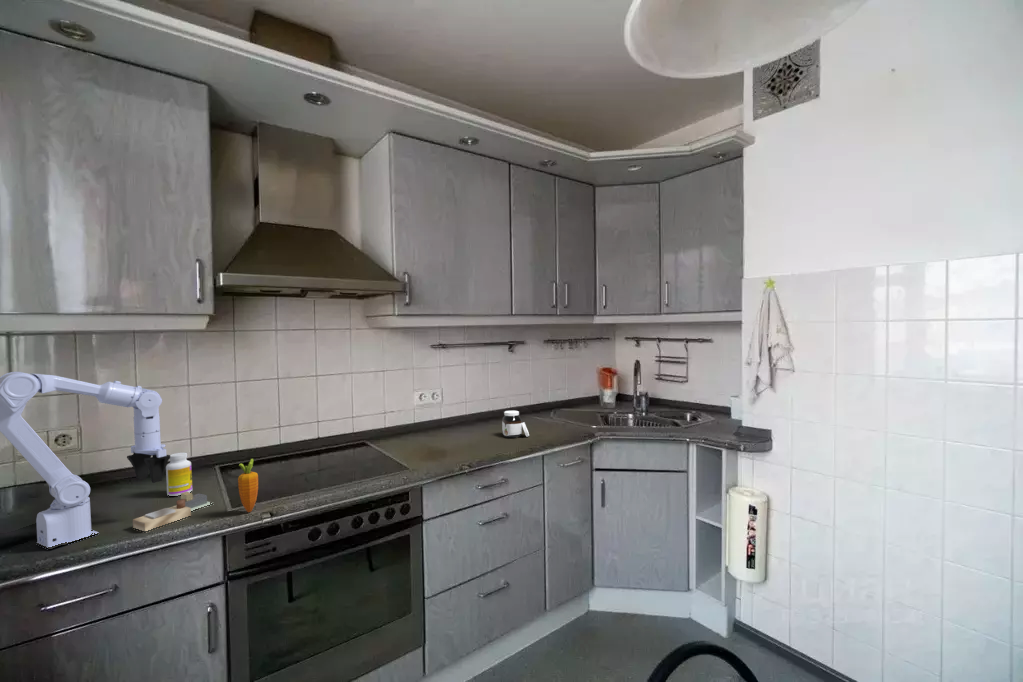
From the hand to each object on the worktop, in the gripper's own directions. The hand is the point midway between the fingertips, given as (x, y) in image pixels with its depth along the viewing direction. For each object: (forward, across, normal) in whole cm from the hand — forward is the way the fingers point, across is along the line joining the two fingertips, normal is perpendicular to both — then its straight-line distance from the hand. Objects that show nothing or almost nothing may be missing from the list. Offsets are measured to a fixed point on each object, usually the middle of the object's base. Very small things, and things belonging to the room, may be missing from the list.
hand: (149, 480), depth 128 cm
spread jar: (+11, -55, -122) cm, 134 cm away
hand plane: (+10, -8, +1) cm, 13 cm away
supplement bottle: (+11, +13, -14) cm, 22 cm away
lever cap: (+10, -4, -9) cm, 14 cm away
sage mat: (+10, -4, -9) cm, 14 cm away
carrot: (+11, -24, -13) cm, 29 cm away
